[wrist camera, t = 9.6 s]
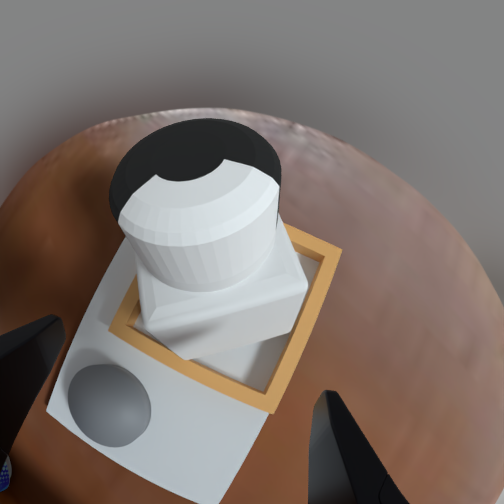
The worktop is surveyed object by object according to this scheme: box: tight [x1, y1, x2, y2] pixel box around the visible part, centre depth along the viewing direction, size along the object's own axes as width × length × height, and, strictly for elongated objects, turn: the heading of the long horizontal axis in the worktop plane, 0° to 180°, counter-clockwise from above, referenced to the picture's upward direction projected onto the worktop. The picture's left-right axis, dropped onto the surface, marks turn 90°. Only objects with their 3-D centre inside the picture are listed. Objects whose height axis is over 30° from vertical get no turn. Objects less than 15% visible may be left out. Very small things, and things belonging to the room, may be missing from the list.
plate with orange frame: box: [46, 223, 342, 504], centre depth 18 cm, size 22×15×2 cm
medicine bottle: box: [109, 118, 308, 360], centre depth 14 cm, size 7×7×12 cm
